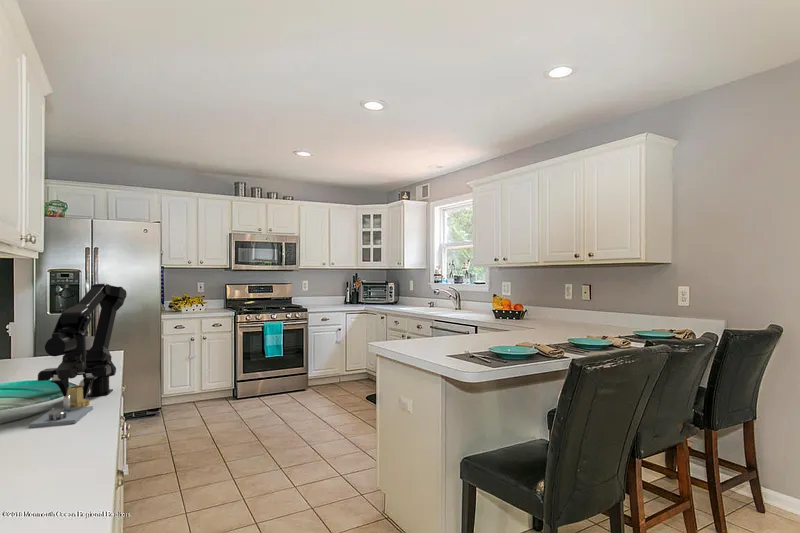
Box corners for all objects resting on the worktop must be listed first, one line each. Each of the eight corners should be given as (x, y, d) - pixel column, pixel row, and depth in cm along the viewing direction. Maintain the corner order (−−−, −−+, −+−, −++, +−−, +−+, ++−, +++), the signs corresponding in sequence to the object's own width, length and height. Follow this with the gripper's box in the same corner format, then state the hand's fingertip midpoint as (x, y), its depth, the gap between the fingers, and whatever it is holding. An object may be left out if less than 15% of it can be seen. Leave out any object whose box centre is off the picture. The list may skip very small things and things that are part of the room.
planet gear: (67, 403, 153) (67, 385, 153) (92, 401, 155) (92, 383, 155) (58, 410, 146) (58, 390, 146) (84, 407, 148) (84, 388, 148)
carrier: (51, 412, 144) (51, 394, 144) (92, 409, 147) (92, 391, 147) (29, 427, 130) (29, 407, 130) (75, 423, 133) (75, 403, 133)
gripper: (28, 357, 140) (29, 409, 140) (99, 352, 145) (100, 403, 145) (45, 350, 151) (46, 399, 151) (111, 347, 156) (112, 394, 156)
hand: (76, 399), depth 151 cm, fingers closed on planet gear, 5 cm apart
